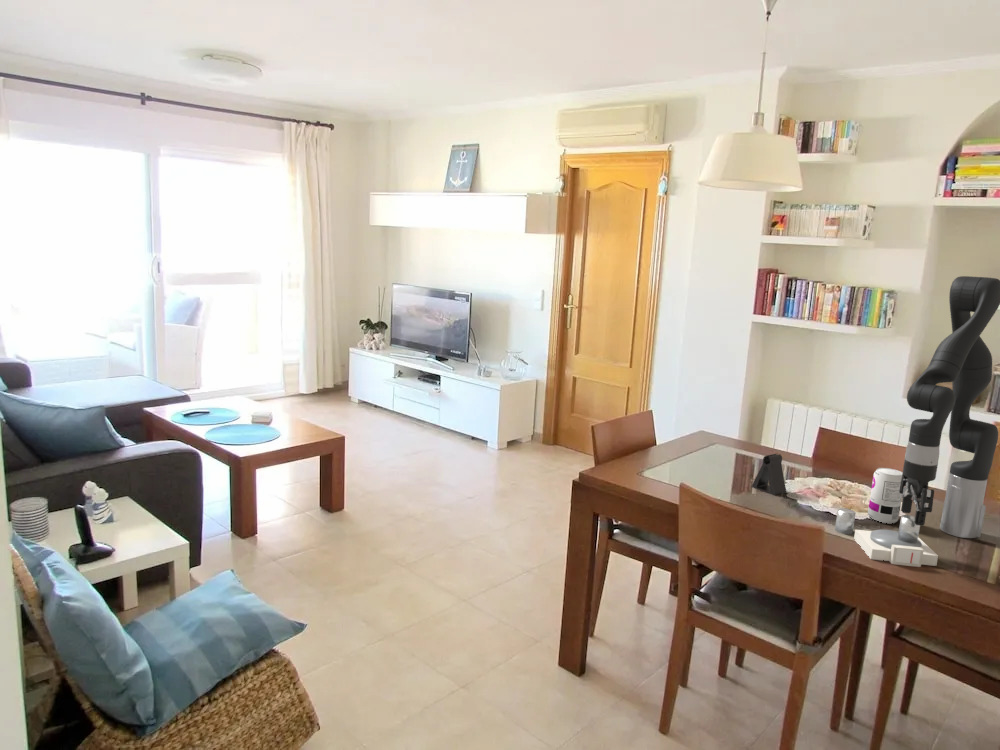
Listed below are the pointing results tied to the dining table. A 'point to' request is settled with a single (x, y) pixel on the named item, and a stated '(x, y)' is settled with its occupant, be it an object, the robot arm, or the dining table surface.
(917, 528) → the silver metal block
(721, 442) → the dining table surface
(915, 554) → the scale
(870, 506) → the supplement can
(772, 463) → the black triangular stand
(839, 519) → the cylinder
